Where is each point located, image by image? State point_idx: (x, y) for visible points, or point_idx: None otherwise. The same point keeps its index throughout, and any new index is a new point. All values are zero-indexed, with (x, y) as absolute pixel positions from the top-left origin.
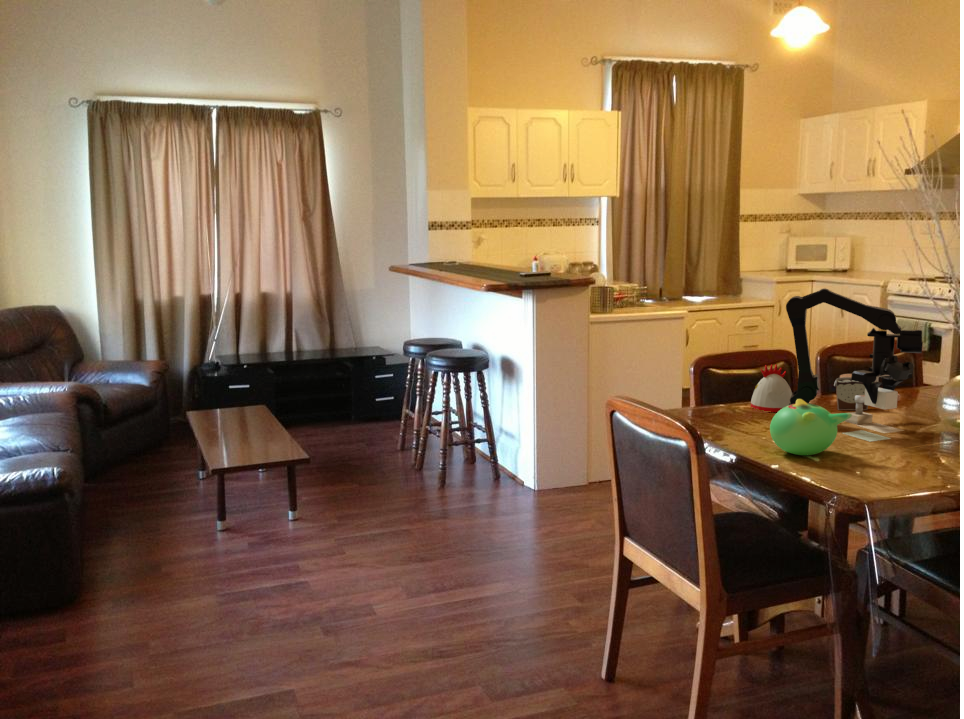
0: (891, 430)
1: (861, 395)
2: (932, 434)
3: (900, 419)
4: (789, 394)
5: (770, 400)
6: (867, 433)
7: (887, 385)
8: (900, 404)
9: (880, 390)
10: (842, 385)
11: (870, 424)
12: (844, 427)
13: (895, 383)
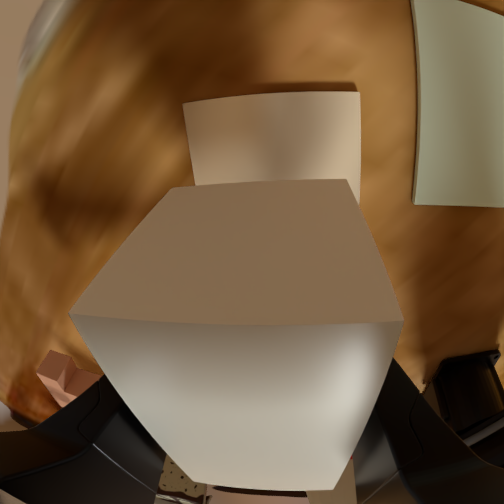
0: (261, 128)
1: None
2: (90, 23)
3: None
4: (344, 490)
5: None
6: (447, 137)
7: (129, 473)
8: (41, 382)
9: (285, 442)
10: (187, 491)
11: None
12: (405, 295)
13: (37, 462)
